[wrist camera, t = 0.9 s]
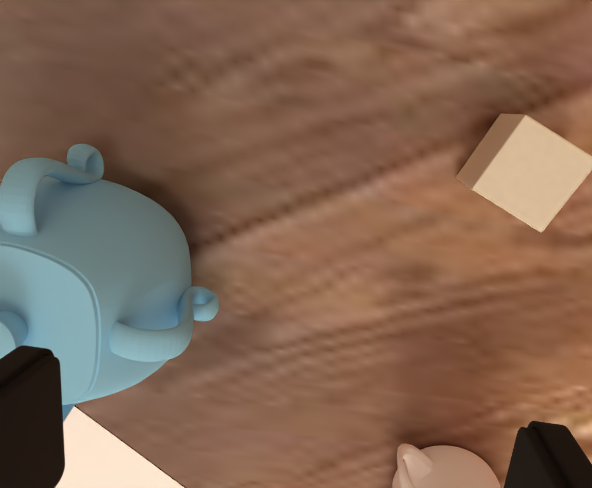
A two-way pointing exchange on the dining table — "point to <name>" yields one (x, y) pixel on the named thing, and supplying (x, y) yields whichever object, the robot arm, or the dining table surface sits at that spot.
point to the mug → (441, 468)
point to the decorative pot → (93, 275)
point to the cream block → (525, 169)
